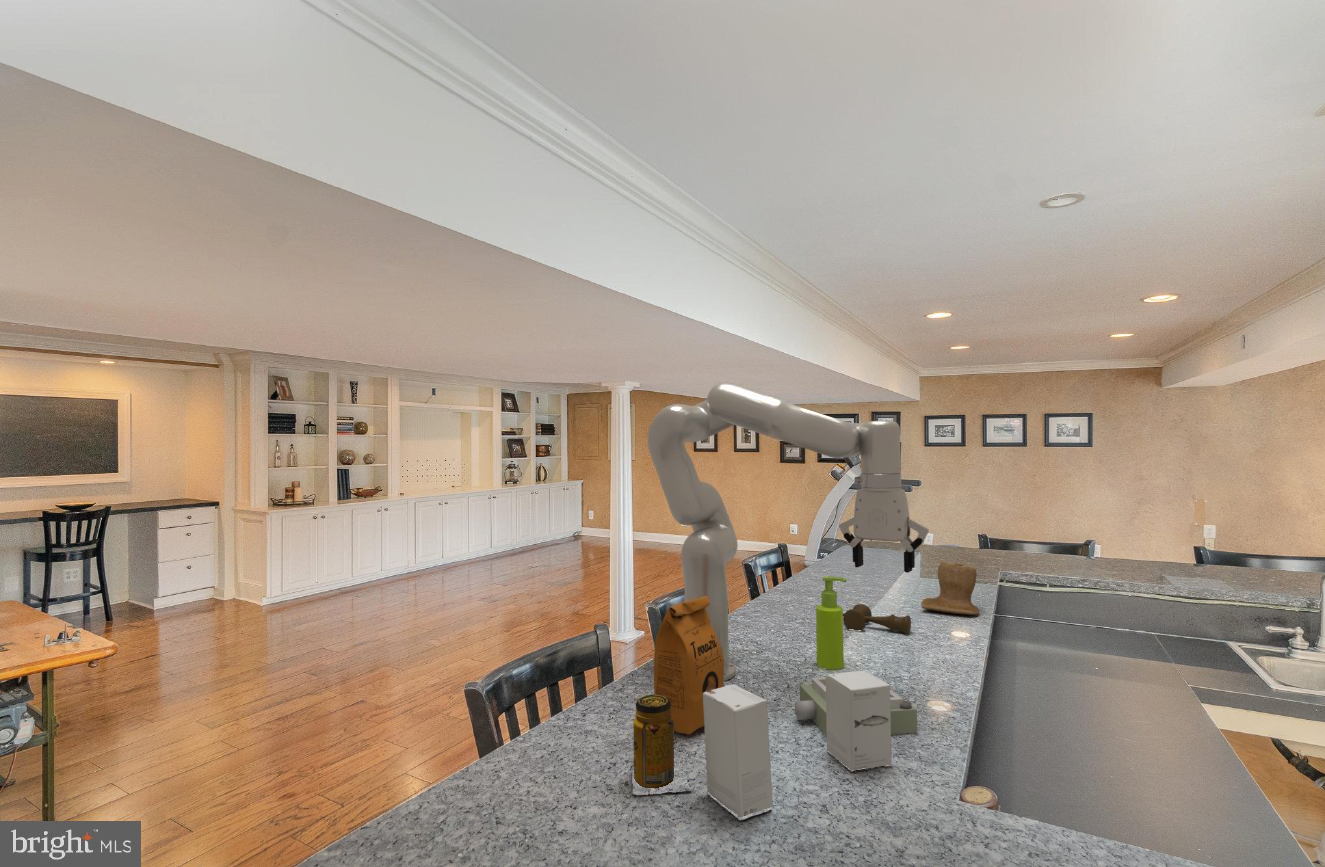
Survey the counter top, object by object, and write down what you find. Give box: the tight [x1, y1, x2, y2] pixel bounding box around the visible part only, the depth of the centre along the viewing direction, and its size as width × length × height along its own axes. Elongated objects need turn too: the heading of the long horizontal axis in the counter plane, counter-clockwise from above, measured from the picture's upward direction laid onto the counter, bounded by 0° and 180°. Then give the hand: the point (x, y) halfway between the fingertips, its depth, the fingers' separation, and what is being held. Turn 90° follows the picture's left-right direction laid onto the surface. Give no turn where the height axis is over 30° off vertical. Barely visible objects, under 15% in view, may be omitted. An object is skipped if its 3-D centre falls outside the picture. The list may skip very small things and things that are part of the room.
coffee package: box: [653, 596, 725, 735], centre depth 112 cm, size 10×12×22 cm
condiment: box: [632, 694, 675, 788], centre depth 92 cm, size 7×8×12 cm
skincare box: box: [703, 683, 774, 817], centre depth 87 cm, size 8×6×15 cm
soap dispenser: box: [815, 575, 848, 671], centre depth 141 cm, size 6×7×20 cm
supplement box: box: [825, 670, 892, 770], centre depth 98 cm, size 7×7×13 cm
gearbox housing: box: [794, 676, 918, 736], centre depth 113 cm, size 19×14×6 cm
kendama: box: [843, 603, 912, 635], centre depth 169 cm, size 6×10×20 cm
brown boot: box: [920, 560, 980, 615], centre depth 186 cm, size 15×12×15 cm
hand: (883, 568), depth 123 cm, fingers open, 9 cm apart
